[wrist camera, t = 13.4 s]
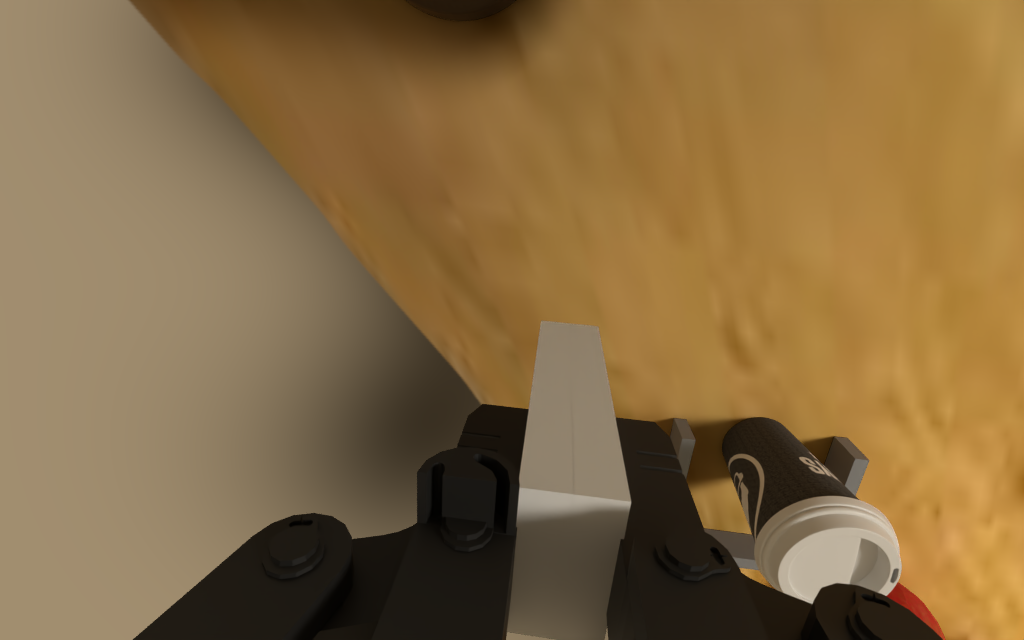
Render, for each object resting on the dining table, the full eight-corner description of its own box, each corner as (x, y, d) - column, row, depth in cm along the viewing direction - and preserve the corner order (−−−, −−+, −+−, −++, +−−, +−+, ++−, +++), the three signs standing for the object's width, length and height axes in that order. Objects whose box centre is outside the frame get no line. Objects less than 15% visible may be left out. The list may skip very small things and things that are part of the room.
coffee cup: (774, 498, 48) (860, 639, 34) (688, 465, 48) (739, 595, 34) (828, 424, 45) (947, 548, 31) (736, 389, 45) (813, 498, 31)
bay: (674, 418, 47) (682, 438, 43) (847, 438, 45) (869, 460, 42) (649, 530, 51) (655, 556, 48) (805, 550, 50) (822, 578, 47)
